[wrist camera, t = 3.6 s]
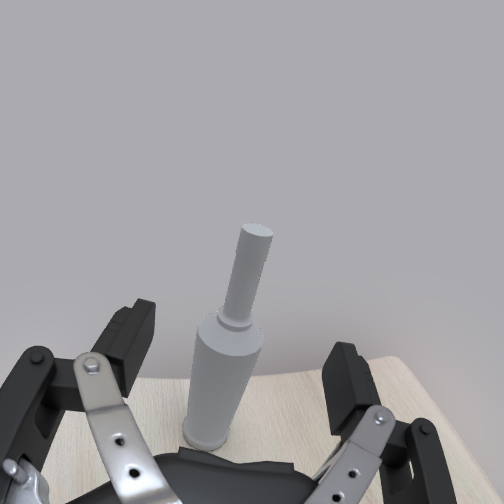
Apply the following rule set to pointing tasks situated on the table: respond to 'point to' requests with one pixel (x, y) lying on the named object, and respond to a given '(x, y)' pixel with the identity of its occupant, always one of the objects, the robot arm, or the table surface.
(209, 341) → the bottle
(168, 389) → the table surface
